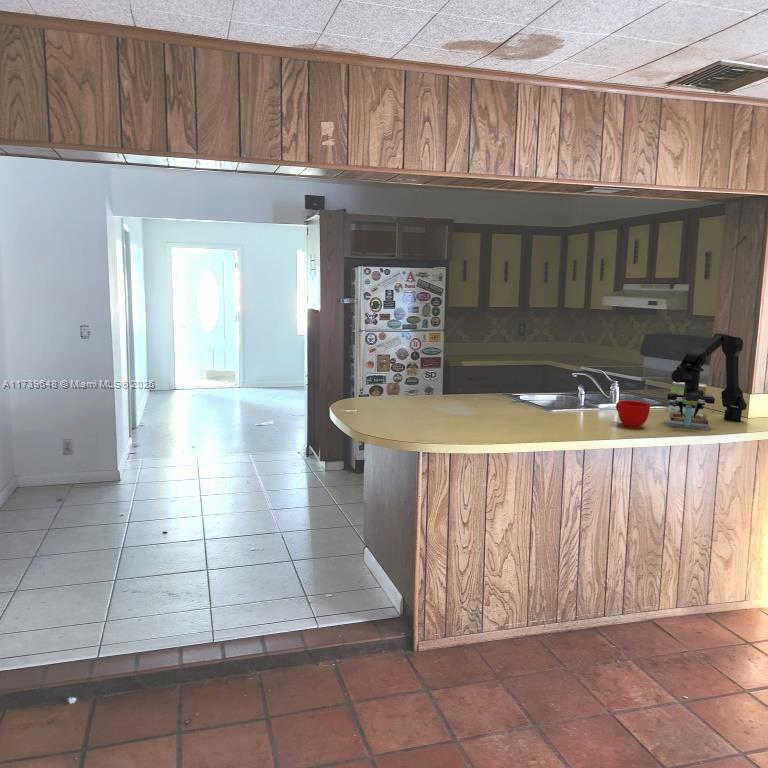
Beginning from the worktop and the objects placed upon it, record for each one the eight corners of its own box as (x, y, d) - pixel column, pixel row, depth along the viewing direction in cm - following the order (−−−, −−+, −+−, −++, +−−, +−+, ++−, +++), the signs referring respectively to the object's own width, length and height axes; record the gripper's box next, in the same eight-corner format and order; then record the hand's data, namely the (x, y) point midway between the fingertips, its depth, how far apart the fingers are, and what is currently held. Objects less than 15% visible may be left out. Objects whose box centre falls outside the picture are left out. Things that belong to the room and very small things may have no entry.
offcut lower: (702, 419, 306) (702, 416, 305) (703, 422, 299) (703, 419, 299) (692, 418, 307) (692, 415, 307) (693, 421, 300) (694, 418, 300)
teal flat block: (688, 423, 295) (691, 405, 294) (690, 426, 289) (692, 408, 287) (684, 423, 296) (686, 405, 295) (685, 426, 289) (687, 408, 288)
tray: (704, 420, 307) (705, 416, 307) (707, 425, 296) (708, 421, 296) (669, 416, 312) (670, 412, 312) (671, 421, 301) (671, 417, 301)
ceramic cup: (627, 420, 301) (629, 398, 299) (654, 429, 285) (657, 405, 283) (603, 421, 296) (605, 399, 294) (630, 430, 280) (632, 407, 279)
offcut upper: (701, 416, 305) (702, 413, 305) (703, 419, 299) (703, 416, 299) (693, 416, 306) (693, 412, 306) (694, 418, 301) (695, 415, 300)
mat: (708, 426, 294) (708, 424, 294) (710, 431, 285) (711, 429, 285) (664, 422, 300) (664, 420, 300) (665, 426, 291) (665, 424, 291)
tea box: (667, 412, 323) (671, 382, 320) (669, 409, 332) (673, 380, 329) (702, 417, 316) (706, 386, 314) (703, 413, 325) (707, 383, 322)
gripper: (669, 382, 285) (665, 418, 288) (718, 386, 279) (713, 423, 282) (668, 378, 296) (664, 413, 298) (715, 382, 289) (710, 418, 292)
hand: (687, 417), depth 292 cm, fingers open, 5 cm apart
